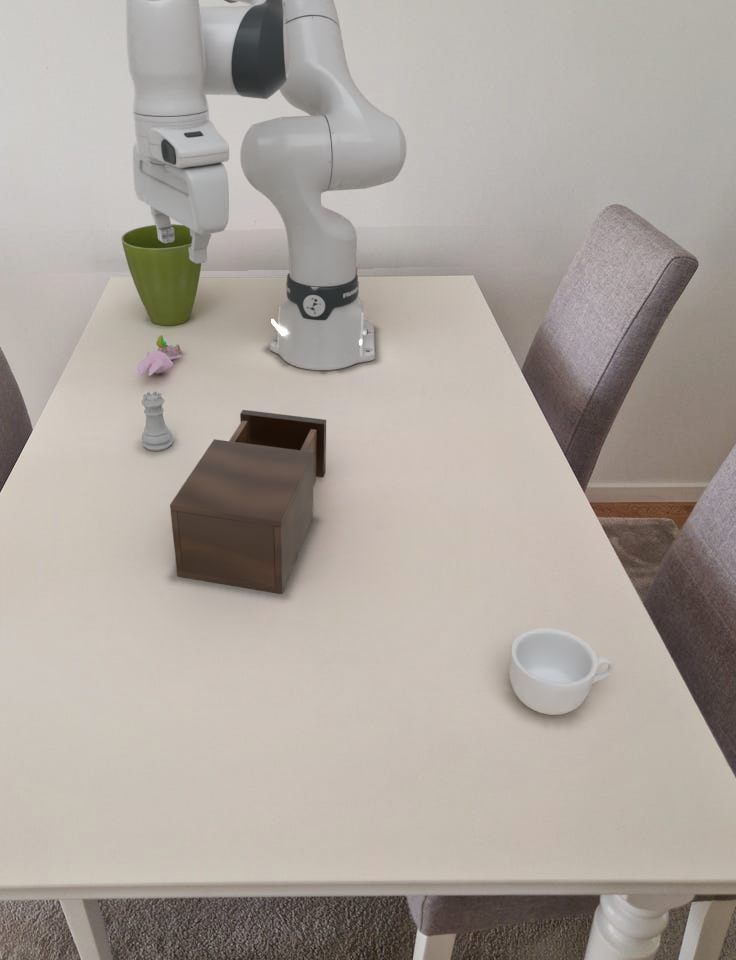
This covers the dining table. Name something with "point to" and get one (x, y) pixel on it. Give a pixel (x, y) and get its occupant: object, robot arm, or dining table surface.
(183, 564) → the cabinet
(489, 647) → the dining table surface
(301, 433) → the drawer
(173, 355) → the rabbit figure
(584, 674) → the teacup
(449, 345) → the dining table surface
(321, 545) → the dining table surface
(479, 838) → the dining table surface
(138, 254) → the flower pot
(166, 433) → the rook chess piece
